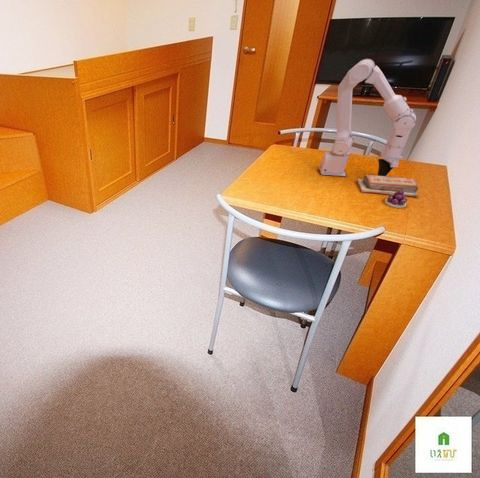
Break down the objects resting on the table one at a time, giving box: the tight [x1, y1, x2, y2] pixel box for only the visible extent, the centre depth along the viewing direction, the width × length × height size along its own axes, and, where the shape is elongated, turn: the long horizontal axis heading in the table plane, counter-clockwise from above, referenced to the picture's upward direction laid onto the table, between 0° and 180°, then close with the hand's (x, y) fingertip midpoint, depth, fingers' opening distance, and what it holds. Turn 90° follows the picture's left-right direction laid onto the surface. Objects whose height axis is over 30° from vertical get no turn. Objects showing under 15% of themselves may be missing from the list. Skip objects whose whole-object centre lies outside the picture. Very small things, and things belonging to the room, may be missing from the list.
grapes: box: [384, 187, 408, 209], centre depth 116 cm, size 6×6×7 cm
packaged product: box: [356, 174, 419, 198], centre depth 126 cm, size 18×5×10 cm
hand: (380, 177), depth 133 cm, fingers closed
